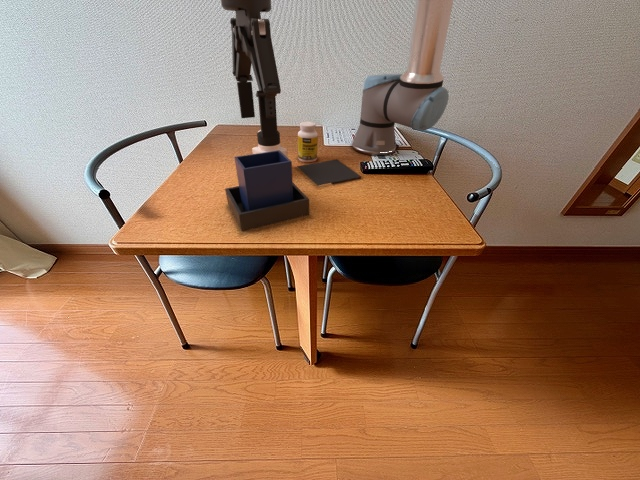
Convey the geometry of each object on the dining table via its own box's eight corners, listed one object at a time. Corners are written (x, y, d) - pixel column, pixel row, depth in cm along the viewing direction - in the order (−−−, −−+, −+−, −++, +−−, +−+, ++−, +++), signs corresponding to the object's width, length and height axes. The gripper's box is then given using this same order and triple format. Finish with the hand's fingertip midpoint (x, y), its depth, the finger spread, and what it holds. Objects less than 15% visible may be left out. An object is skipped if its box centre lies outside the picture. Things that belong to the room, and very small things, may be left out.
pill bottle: (301, 164, 89) (301, 127, 83) (295, 156, 94) (294, 121, 87) (320, 161, 91) (321, 125, 84) (313, 154, 96) (313, 120, 89)
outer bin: (288, 193, 74) (287, 176, 71) (309, 216, 65) (309, 199, 62) (228, 205, 68) (224, 188, 65) (242, 233, 59) (238, 215, 57)
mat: (336, 161, 92) (336, 159, 92) (361, 178, 82) (361, 176, 82) (296, 168, 87) (296, 166, 86) (317, 187, 77) (317, 185, 77)
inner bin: (282, 198, 71) (279, 150, 63) (293, 211, 66) (291, 161, 58) (242, 206, 67) (234, 156, 60) (250, 221, 62) (243, 169, 55)
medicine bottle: (288, 173, 83) (286, 131, 76) (267, 180, 80) (263, 136, 72) (274, 165, 88) (271, 124, 80) (254, 171, 84) (249, 129, 77)
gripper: (203, -18, 50) (224, 112, 62) (240, -37, 32) (258, 149, 45) (246, -15, 53) (257, 109, 65) (301, -30, 35) (302, 144, 48)
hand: (257, 126), depth 55 cm, fingers open, 13 cm apart
